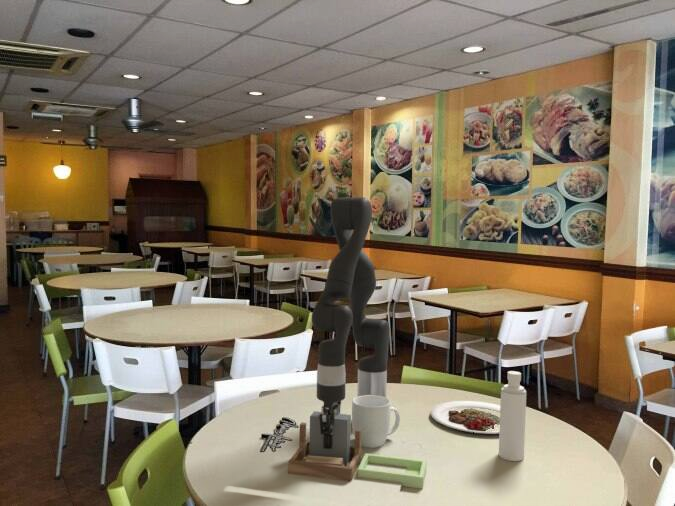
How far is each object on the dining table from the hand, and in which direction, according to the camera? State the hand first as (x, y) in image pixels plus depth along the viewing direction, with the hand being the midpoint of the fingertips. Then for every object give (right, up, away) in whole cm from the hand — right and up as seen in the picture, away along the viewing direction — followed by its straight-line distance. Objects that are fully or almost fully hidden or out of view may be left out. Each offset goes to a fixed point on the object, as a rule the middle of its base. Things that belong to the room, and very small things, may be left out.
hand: (329, 444), depth 146 cm
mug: (+12, -5, +14) cm, 19 cm away
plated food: (+48, -5, +36) cm, 60 cm away
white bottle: (+50, -6, +8) cm, 51 cm away
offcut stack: (-2, -5, -6) cm, 8 cm away
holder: (+16, -6, -6) cm, 18 cm away
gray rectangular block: (0, -4, 0) cm, 4 cm away
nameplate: (-15, -5, +18) cm, 24 cm away
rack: (-1, -5, -3) cm, 6 cm away
